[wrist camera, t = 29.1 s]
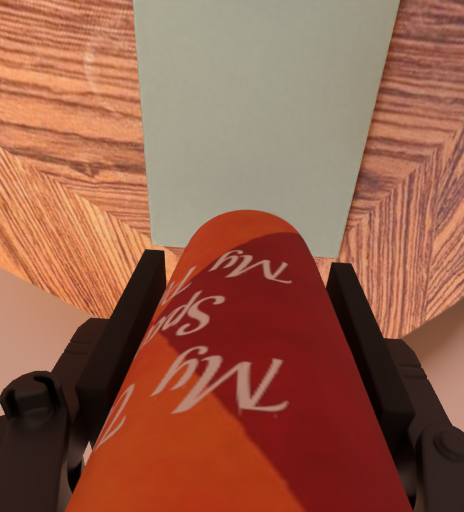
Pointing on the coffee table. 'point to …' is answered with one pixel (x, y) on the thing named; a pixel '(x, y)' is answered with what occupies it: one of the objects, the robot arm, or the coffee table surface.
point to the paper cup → (242, 392)
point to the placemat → (258, 109)
